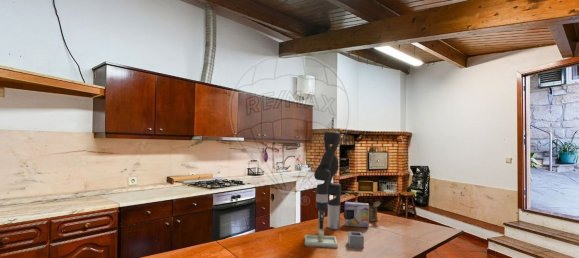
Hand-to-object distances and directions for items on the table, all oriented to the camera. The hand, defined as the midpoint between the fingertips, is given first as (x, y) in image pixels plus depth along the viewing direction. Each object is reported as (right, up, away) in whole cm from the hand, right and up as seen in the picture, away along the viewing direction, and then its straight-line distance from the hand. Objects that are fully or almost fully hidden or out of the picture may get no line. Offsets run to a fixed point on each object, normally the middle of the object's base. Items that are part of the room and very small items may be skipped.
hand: (321, 227), depth 189 cm
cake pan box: (+31, -12, +41) cm, 53 cm away
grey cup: (+22, -10, -2) cm, 24 cm away
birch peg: (0, -8, 0) cm, 8 cm away
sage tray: (0, -10, 0) cm, 10 cm away
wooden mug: (+49, -13, +56) cm, 76 cm away
